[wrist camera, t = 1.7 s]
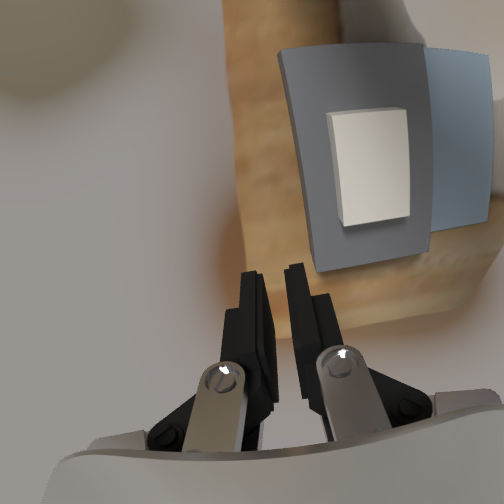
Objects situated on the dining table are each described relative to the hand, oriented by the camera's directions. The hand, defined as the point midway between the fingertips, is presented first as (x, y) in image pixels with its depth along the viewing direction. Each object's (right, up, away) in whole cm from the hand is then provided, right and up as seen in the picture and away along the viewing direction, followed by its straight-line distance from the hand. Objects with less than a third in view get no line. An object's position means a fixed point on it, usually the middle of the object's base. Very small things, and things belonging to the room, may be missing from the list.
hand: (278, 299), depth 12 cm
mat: (+20, +13, +14) cm, 28 cm away
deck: (+9, +11, +15) cm, 21 cm away
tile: (+8, +9, +12) cm, 17 cm away
